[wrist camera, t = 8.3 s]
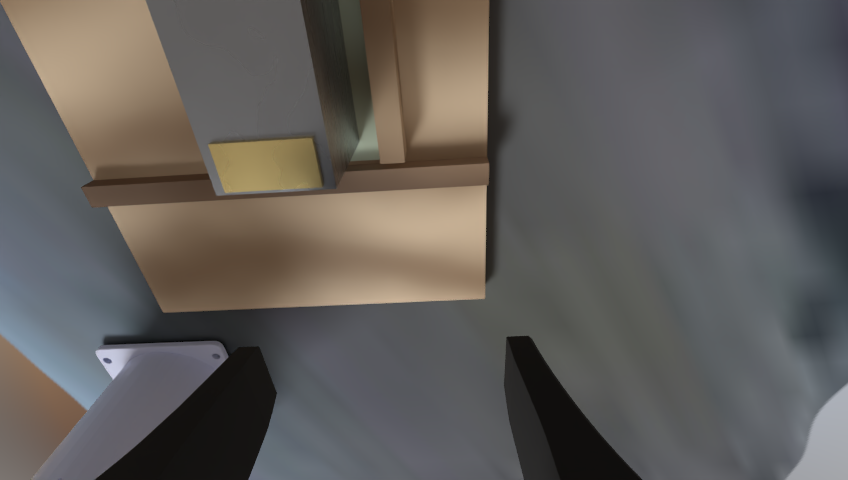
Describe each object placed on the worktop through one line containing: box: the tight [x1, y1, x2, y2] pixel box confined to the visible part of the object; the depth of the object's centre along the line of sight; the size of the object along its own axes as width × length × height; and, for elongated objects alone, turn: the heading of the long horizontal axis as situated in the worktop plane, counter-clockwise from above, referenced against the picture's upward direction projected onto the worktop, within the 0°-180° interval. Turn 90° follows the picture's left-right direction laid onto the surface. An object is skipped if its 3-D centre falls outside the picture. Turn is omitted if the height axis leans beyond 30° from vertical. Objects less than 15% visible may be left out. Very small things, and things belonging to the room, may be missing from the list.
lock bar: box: [146, 0, 360, 196], centre depth 13 cm, size 8×4×5 cm, turn 4°
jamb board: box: [0, 0, 489, 313], centre depth 17 cm, size 18×18×2 cm
